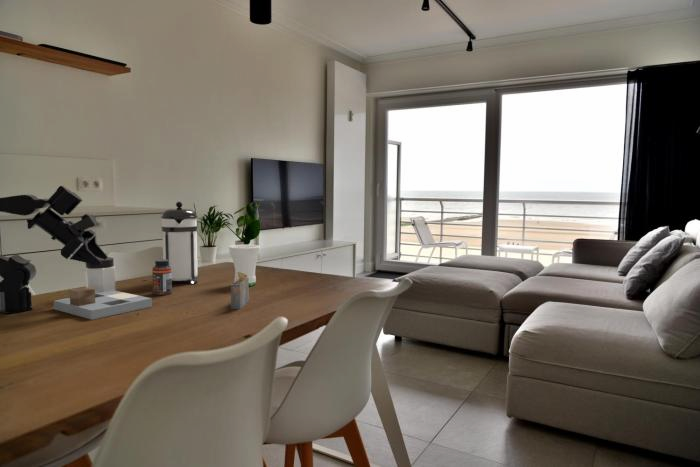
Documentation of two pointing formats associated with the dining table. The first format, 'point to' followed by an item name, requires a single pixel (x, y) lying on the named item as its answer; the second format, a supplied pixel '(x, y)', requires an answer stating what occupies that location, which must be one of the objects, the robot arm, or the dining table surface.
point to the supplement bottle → (162, 278)
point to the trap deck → (105, 305)
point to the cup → (245, 260)
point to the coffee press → (180, 242)
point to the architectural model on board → (240, 292)
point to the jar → (101, 275)
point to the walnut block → (82, 296)
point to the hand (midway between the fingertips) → (103, 261)
